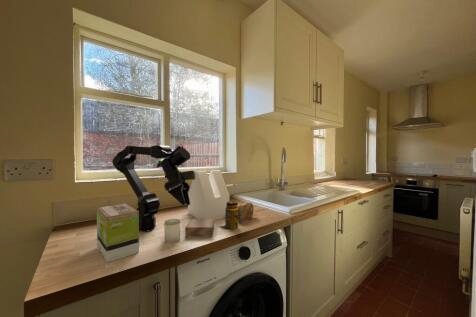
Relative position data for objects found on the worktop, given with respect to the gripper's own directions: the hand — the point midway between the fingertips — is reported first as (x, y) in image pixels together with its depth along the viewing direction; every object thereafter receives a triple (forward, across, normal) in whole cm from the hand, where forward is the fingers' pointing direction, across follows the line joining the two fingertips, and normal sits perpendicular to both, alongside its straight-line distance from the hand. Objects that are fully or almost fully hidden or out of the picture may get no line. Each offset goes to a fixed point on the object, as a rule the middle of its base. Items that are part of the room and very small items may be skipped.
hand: (186, 204), depth 84 cm
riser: (+12, +8, +1) cm, 15 cm away
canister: (+10, 0, +11) cm, 15 cm away
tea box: (+4, -8, +27) cm, 28 cm away
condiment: (+18, +14, -11) cm, 25 cm away
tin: (+18, +26, -19) cm, 37 cm away
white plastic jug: (+7, +35, -2) cm, 35 cm away
